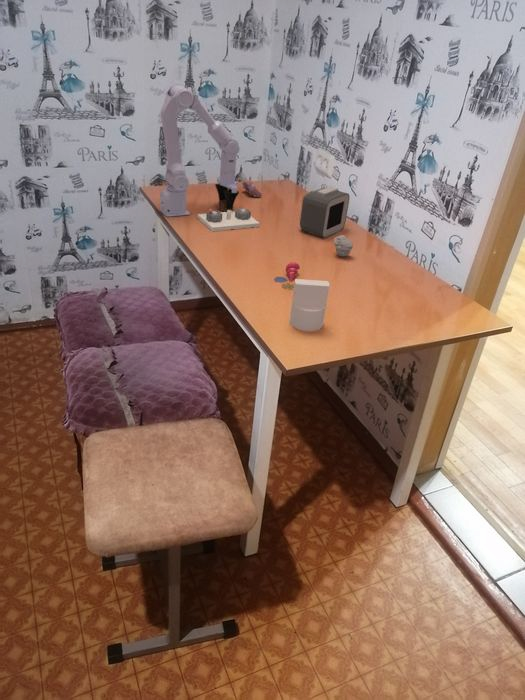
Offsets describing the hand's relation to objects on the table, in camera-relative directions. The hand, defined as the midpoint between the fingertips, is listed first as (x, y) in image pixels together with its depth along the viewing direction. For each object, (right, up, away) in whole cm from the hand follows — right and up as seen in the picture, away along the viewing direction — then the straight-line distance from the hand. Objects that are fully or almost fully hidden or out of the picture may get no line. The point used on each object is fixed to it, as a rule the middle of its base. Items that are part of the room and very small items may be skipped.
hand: (225, 205), depth 223 cm
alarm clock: (+36, -12, -9) cm, 39 cm away
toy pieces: (+23, -36, -48) cm, 65 cm away
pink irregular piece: (+9, +9, +20) cm, 24 cm away
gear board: (+2, -9, -11) cm, 14 cm away
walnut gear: (0, -1, +1) cm, 2 cm away
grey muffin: (+41, -25, -28) cm, 56 cm away
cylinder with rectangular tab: (+26, -50, -70) cm, 89 cm away
